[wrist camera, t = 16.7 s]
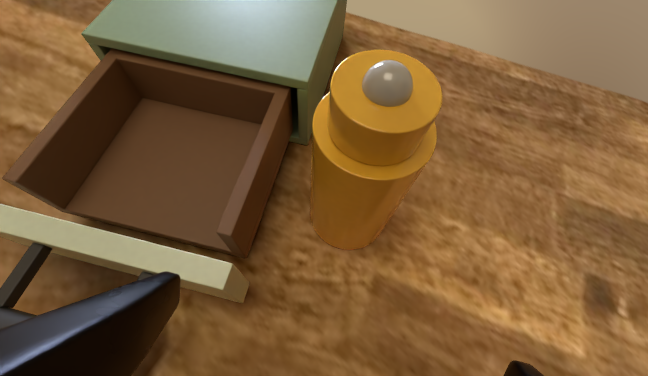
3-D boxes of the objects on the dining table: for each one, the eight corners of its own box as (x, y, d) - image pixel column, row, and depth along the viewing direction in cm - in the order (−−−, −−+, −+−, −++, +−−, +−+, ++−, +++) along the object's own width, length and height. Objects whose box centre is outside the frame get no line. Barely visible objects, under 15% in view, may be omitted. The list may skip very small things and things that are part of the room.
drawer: (213, 389, 15) (179, 406, 11) (-23, 322, 16) (-138, 315, 12) (301, 133, 23) (300, 86, 19) (137, 96, 24) (101, 43, 20)
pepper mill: (399, 228, 21) (506, 95, 10) (332, 263, 19) (367, 156, 8) (360, 169, 23) (411, 2, 12) (297, 197, 21) (287, 39, 10)
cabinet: (307, 145, 23) (307, 82, 18) (133, 106, 24) (80, 33, 19) (342, 35, 30) (351, -38, 24) (202, 7, 30) (178, -71, 25)
